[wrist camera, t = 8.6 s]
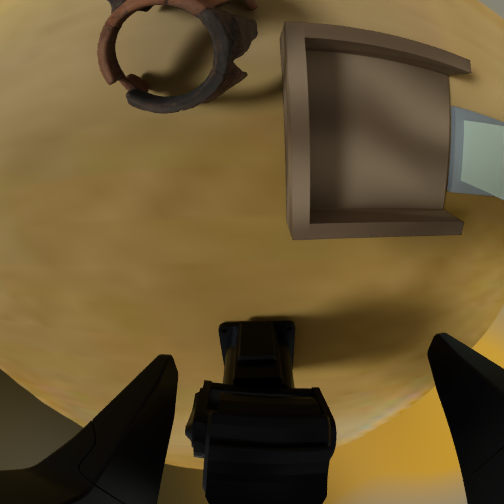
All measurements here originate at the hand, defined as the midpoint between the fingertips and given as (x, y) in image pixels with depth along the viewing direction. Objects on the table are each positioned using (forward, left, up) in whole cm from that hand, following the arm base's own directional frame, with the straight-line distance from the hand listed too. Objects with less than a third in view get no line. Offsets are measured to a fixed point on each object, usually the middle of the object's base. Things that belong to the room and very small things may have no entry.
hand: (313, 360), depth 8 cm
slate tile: (+6, -17, -13) cm, 23 cm away
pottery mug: (+14, +6, -13) cm, 20 cm away
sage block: (+6, -17, -12) cm, 22 cm away
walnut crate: (+7, -7, -13) cm, 16 cm away
